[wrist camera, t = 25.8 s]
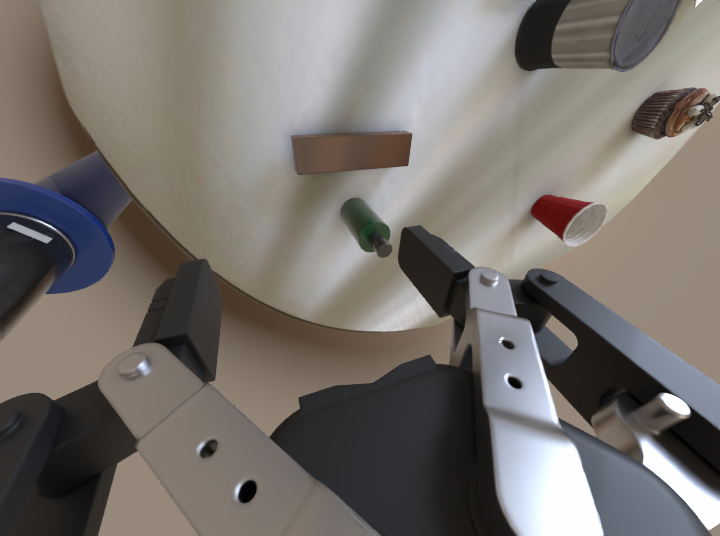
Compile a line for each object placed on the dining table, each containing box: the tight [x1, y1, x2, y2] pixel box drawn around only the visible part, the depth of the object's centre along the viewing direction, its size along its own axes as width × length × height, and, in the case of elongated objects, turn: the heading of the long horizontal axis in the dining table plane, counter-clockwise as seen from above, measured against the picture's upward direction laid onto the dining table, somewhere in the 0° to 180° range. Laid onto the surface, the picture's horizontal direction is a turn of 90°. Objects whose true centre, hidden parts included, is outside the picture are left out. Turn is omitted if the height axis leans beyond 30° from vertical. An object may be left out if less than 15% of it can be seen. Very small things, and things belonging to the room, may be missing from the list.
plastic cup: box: [532, 195, 609, 247], centre depth 60 cm, size 11×11×12 cm
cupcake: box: [632, 88, 720, 140], centre depth 55 cm, size 10×10×10 cm
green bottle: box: [341, 198, 392, 258], centre depth 42 cm, size 5×5×14 cm
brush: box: [291, 131, 412, 175], centre depth 39 cm, size 18×5×4 cm, turn 89°
